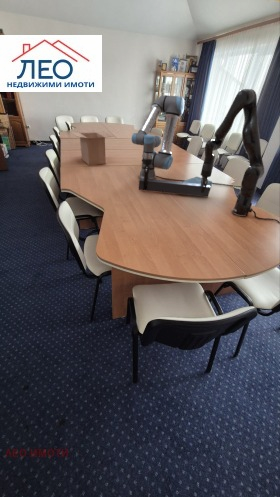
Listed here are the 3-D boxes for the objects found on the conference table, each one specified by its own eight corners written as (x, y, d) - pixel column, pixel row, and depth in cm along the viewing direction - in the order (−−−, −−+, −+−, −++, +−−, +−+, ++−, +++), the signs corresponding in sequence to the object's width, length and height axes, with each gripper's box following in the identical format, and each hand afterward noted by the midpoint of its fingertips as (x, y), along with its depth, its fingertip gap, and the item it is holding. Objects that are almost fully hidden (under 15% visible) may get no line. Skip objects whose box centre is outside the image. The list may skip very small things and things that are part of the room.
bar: (138, 189, 176) (139, 180, 171) (139, 187, 180) (139, 178, 175) (208, 196, 173) (210, 187, 168) (207, 194, 177) (209, 185, 172)
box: (116, 165, 229) (116, 136, 213) (83, 168, 214) (80, 137, 198) (102, 154, 259) (101, 128, 243) (71, 156, 244) (68, 129, 228)
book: (195, 181, 203) (197, 176, 200) (211, 187, 194) (212, 181, 191) (181, 187, 190) (182, 181, 187) (196, 193, 181) (197, 187, 178)
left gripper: (152, 162, 156) (149, 193, 169) (153, 155, 170) (150, 185, 184) (141, 161, 156) (139, 192, 170) (143, 154, 170) (141, 184, 184)
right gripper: (213, 172, 157) (208, 195, 167) (210, 166, 169) (205, 188, 179) (203, 171, 157) (198, 194, 168) (200, 166, 169) (196, 187, 179)
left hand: (145, 188), depth 177 cm, fingers closed on bar, 5 cm apart
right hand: (201, 191), depth 173 cm, fingers closed on bar, 5 cm apart
